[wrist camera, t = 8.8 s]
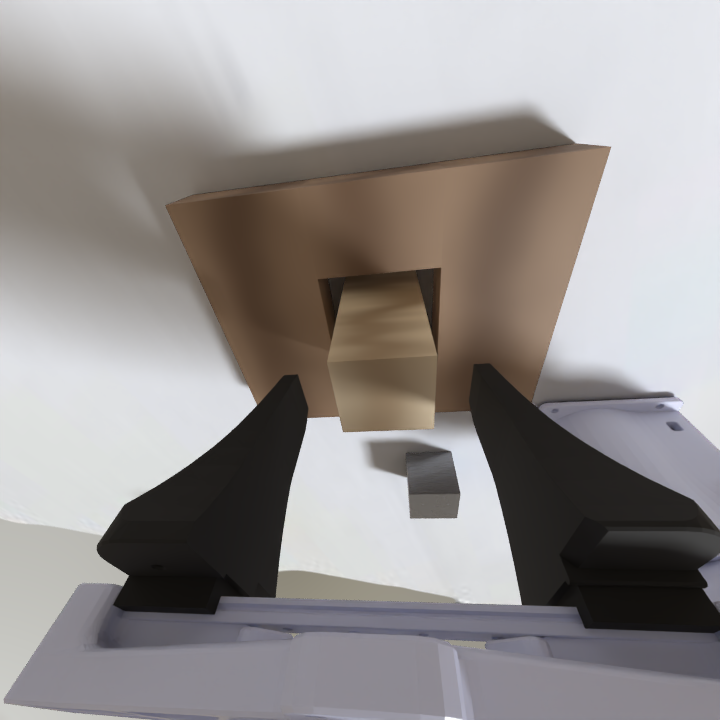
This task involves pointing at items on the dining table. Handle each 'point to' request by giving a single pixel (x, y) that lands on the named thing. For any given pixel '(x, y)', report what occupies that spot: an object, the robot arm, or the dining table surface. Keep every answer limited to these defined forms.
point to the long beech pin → (383, 355)
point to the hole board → (397, 261)
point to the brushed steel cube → (432, 485)
